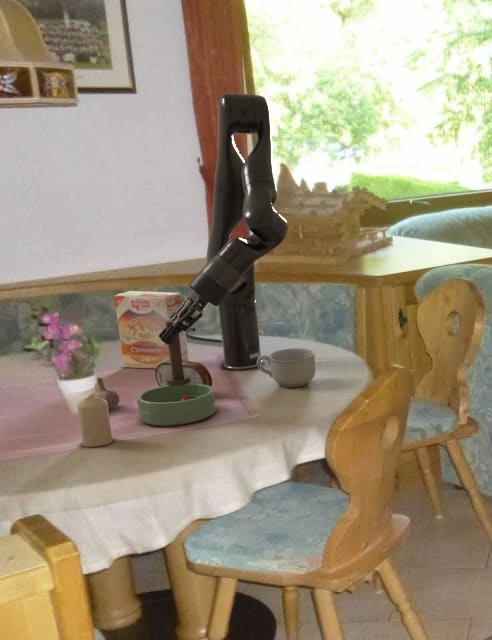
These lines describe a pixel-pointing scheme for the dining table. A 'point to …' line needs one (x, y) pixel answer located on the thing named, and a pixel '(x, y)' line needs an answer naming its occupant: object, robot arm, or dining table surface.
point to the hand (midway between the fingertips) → (163, 340)
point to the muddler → (176, 362)
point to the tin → (190, 368)
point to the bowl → (176, 404)
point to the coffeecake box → (146, 327)
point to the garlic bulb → (107, 394)
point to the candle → (94, 421)
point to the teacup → (290, 366)
